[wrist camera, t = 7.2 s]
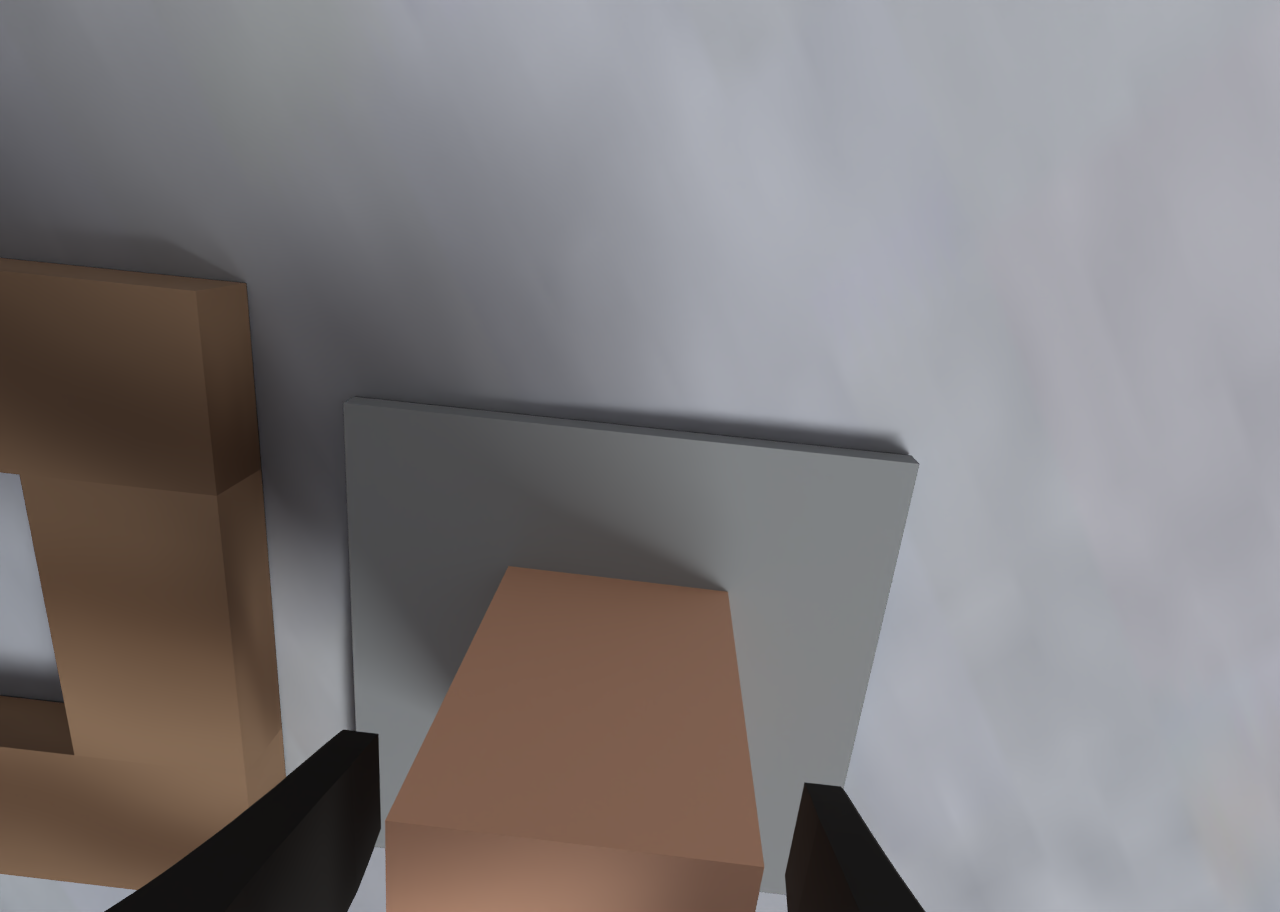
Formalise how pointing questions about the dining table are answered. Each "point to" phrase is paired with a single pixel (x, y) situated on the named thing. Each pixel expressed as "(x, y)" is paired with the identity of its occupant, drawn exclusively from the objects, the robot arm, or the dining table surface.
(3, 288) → the holder
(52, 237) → the dining table surface
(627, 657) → the block
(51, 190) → the dining table surface
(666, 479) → the mat
